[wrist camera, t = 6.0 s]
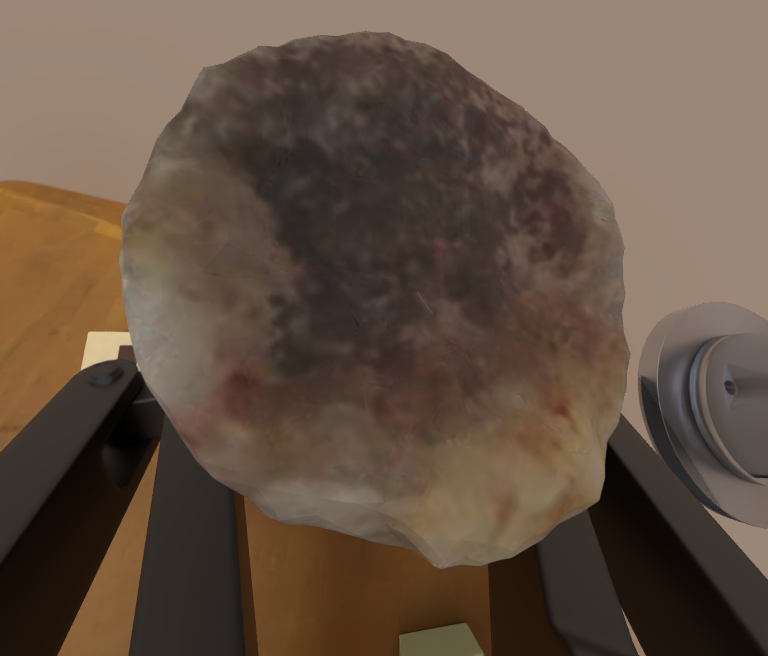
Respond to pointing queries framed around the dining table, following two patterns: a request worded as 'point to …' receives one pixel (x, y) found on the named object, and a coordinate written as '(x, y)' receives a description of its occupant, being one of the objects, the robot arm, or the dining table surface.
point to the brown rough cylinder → (379, 298)
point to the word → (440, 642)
